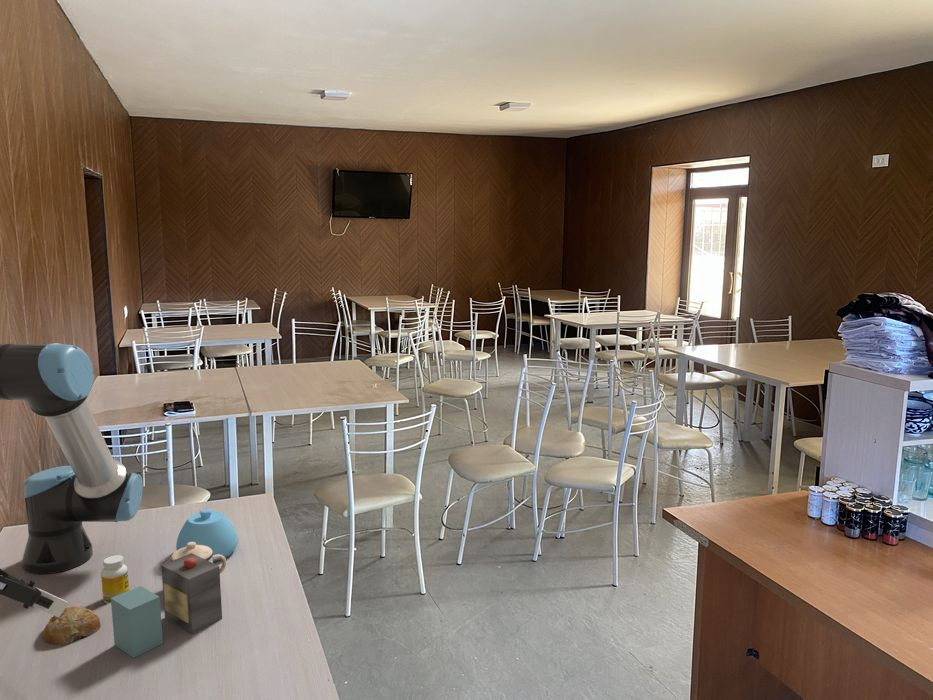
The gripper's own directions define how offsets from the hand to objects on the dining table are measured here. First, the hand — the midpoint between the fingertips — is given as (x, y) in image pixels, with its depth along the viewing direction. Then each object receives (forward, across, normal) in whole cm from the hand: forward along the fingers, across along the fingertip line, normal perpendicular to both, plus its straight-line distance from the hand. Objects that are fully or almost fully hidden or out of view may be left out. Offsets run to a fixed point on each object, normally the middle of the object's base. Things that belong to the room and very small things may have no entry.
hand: (62, 609), depth 126 cm
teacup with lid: (+35, -12, +14) cm, 40 cm away
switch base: (+23, 0, +2) cm, 23 cm away
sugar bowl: (+44, -27, +22) cm, 56 cm away
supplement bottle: (+26, -23, +4) cm, 35 cm away
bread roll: (+16, -16, -6) cm, 24 cm away
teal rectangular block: (+19, 0, 0) cm, 19 cm away
